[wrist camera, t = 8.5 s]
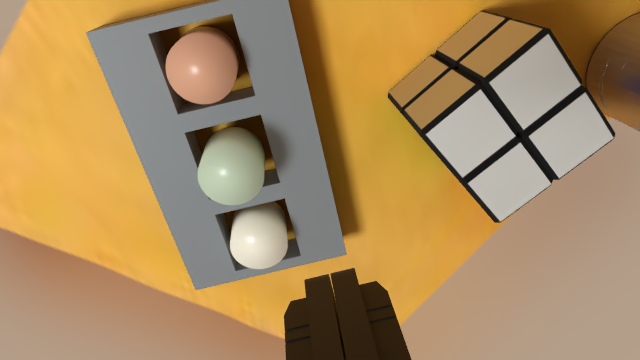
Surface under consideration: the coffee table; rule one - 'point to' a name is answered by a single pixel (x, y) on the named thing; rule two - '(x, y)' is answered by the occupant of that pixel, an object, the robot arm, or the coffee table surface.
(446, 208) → the coffee table surface
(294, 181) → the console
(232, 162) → the button sage
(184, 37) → the button terracotta
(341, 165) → the coffee table surface
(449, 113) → the puzzle cube
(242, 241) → the button cream
